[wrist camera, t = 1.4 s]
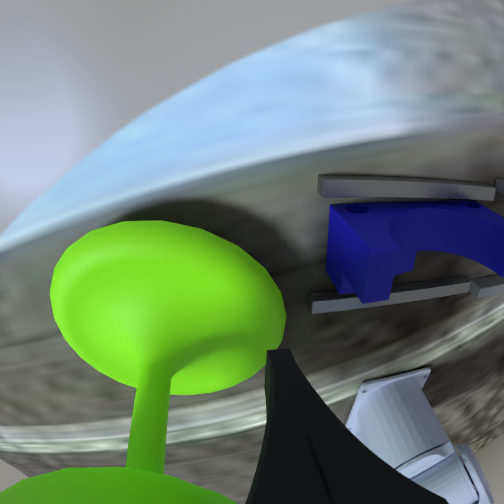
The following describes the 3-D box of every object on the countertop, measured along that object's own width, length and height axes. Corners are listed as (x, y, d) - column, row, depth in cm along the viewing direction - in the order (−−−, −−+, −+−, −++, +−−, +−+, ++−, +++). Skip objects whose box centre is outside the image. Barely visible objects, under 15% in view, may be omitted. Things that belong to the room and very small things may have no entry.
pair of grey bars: (461, 285, 23) (467, 292, 22) (307, 305, 22) (311, 314, 21) (487, 183, 19) (496, 187, 18) (318, 175, 18) (323, 179, 17)
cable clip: (325, 268, 21) (358, 327, 16) (329, 203, 19) (371, 248, 14) (461, 252, 22) (507, 293, 17) (472, 199, 20) (527, 233, 15)
